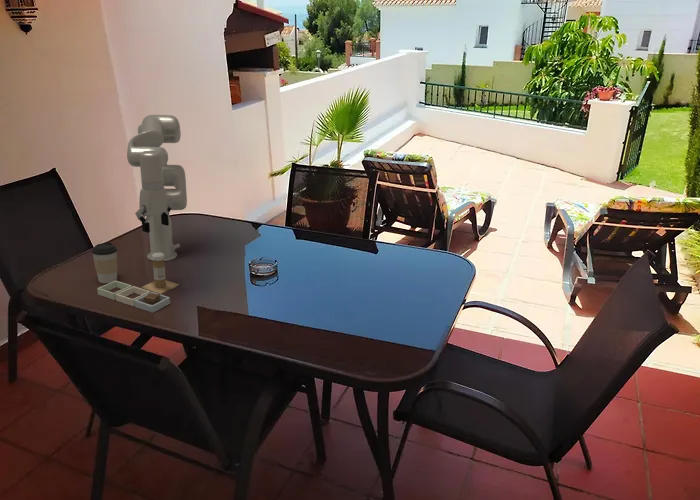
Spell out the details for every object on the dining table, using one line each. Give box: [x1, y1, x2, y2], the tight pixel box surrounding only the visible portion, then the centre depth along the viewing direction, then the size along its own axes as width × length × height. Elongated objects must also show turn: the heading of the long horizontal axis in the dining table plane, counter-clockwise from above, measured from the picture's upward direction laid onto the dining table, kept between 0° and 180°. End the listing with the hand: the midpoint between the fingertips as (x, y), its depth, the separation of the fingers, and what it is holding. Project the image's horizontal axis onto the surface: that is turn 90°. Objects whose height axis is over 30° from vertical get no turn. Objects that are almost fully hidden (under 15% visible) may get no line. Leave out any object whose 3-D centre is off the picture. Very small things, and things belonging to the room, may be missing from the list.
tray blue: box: [134, 292, 171, 314], centre depth 191 cm, size 9×9×3 cm
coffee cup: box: [91, 241, 118, 284], centre depth 207 cm, size 9×9×15 cm
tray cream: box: [115, 285, 151, 307], centre depth 195 cm, size 9×9×3 cm
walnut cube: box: [144, 293, 160, 305], centre depth 191 cm, size 4×4×4 cm
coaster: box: [140, 280, 180, 295], centre depth 206 cm, size 10×10×1 cm
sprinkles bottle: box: [152, 253, 167, 287], centre depth 204 cm, size 5×5×13 cm
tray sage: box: [96, 280, 133, 301], centre depth 198 cm, size 9×9×3 cm
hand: (155, 228), depth 198 cm, fingers open, 9 cm apart
